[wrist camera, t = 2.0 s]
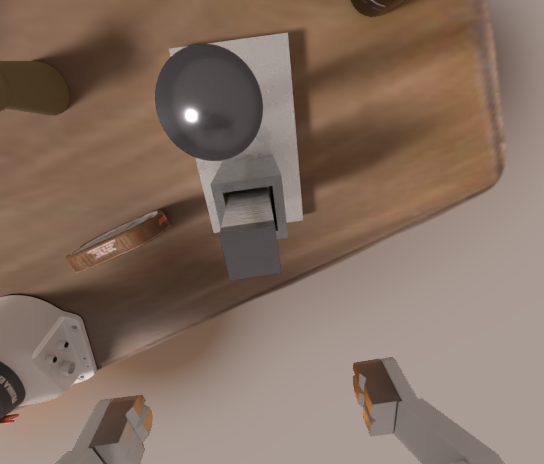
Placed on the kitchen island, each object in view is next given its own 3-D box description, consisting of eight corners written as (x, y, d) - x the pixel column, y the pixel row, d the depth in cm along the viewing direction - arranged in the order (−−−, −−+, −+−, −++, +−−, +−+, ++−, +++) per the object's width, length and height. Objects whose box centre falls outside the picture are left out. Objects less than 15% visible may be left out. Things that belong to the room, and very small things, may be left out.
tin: (97, 253, 44) (65, 284, 36) (84, 237, 43) (48, 266, 35) (178, 217, 42) (162, 242, 35) (167, 200, 41) (148, 221, 33)
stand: (301, 215, 43) (374, 377, 17) (215, 227, 43) (161, 409, 17) (285, 36, 33) (410, -215, 7) (173, 52, 33) (-113, -148, 7)
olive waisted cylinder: (66, 66, 33) (-14, 49, 23) (72, 119, 35) (2, 124, 25) (11, 55, 32) (-97, 33, 22) (21, 110, 34) (-71, 112, 25)
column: (268, 195, 39) (282, 274, 21) (239, 199, 39) (229, 281, 21) (264, 166, 37) (276, 225, 19) (234, 171, 37) (217, 233, 19)
